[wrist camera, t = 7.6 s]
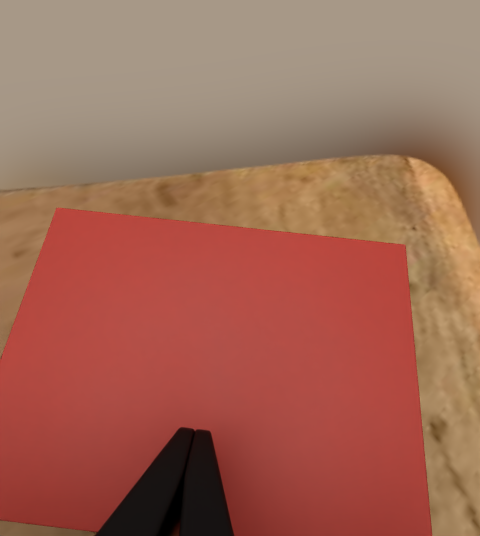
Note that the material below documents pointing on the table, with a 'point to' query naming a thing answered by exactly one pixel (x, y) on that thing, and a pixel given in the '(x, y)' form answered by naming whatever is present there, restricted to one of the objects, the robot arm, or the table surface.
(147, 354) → the lid
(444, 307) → the table surface
